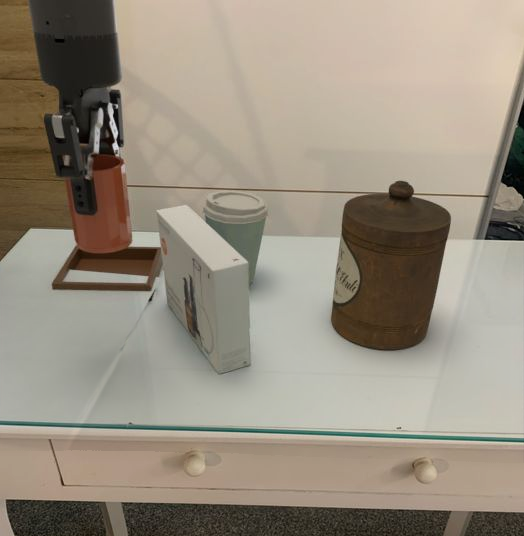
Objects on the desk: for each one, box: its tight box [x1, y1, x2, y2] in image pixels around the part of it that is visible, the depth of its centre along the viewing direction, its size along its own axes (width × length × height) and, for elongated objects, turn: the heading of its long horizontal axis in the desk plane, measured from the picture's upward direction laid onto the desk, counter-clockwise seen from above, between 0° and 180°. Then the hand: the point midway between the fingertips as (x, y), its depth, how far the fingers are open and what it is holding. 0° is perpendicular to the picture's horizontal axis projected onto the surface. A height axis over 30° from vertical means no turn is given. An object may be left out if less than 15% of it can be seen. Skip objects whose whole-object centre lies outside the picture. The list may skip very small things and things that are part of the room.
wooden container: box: [330, 180, 452, 350], centre depth 80 cm, size 15×15×22 cm
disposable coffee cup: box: [202, 189, 269, 286], centre depth 92 cm, size 11×11×15 cm
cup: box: [63, 154, 133, 253], centre depth 61 cm, size 6×6×9 cm
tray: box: [51, 245, 163, 301], centre depth 95 cm, size 16×15×3 cm
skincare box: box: [156, 204, 252, 375], centre depth 78 cm, size 21×6×16 cm, turn 27°
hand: (99, 201), depth 61 cm, fingers closed on cup, 6 cm apart
